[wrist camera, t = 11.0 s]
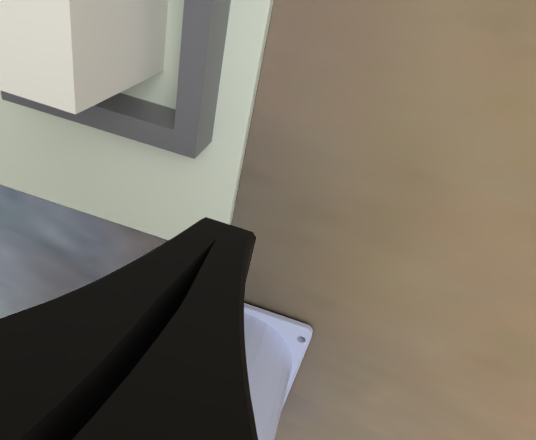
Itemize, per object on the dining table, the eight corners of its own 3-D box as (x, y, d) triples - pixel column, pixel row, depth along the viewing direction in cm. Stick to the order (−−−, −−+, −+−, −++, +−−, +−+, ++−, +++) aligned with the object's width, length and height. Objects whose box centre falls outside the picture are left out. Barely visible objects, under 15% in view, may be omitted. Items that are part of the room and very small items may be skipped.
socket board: (225, 252, 23) (209, 281, 21) (0, 178, 24) (-37, 198, 22) (294, -111, 14) (277, -123, 12) (-74, -200, 15) (-148, -225, 13)
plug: (163, 70, 18) (75, 114, 13) (78, 45, 18) (-39, 77, 13) (172, -56, 15) (65, -63, 10) (72, -84, 15) (-78, -103, 10)
